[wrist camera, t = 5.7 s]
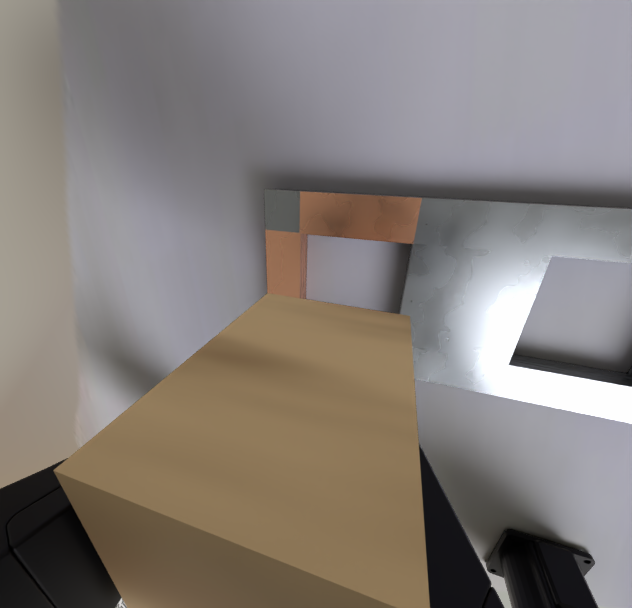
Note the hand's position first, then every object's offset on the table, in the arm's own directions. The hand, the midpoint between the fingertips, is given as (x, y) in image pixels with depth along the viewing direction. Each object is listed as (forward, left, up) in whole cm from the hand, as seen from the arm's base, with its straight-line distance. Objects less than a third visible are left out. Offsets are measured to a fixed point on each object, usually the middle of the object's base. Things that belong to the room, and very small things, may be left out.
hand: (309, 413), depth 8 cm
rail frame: (0, -6, -13) cm, 14 cm away
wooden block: (0, 0, -3) cm, 3 cm away
